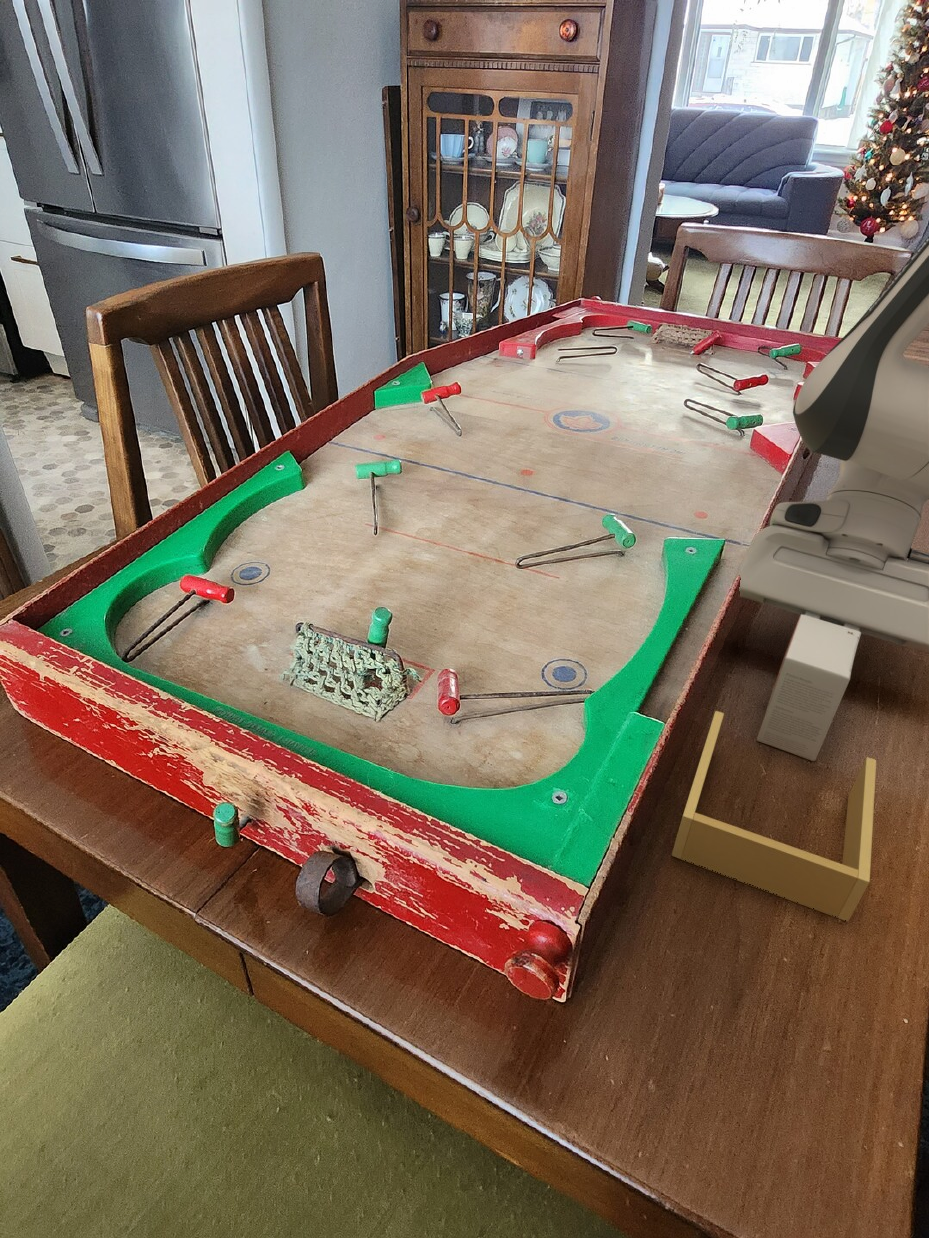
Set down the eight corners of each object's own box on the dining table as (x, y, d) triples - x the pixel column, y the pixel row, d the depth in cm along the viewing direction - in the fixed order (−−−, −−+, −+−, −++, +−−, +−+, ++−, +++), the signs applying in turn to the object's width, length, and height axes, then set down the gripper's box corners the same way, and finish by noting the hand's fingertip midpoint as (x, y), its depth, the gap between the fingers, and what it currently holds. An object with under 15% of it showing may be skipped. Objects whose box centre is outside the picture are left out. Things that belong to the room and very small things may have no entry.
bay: (704, 749, 74) (715, 710, 71) (857, 799, 69) (876, 759, 66) (671, 856, 64) (682, 815, 61) (848, 922, 59) (869, 882, 56)
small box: (771, 694, 81) (800, 611, 74) (828, 713, 78) (862, 629, 72) (754, 741, 75) (783, 656, 69) (814, 763, 73) (850, 677, 67)
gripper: (970, 575, 77) (924, 705, 76) (760, 520, 85) (716, 637, 84) (988, 557, 71) (939, 698, 70) (761, 499, 79) (714, 625, 78)
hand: (816, 664), depth 77 cm, fingers closed, pressing on small box
